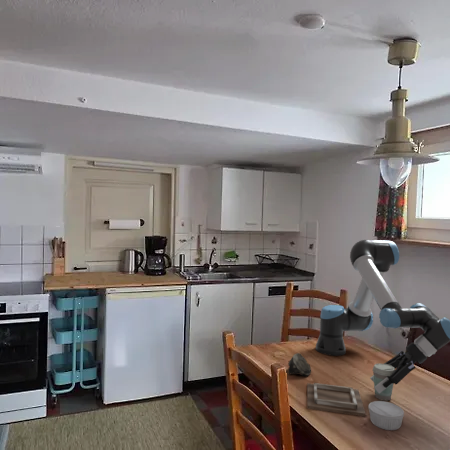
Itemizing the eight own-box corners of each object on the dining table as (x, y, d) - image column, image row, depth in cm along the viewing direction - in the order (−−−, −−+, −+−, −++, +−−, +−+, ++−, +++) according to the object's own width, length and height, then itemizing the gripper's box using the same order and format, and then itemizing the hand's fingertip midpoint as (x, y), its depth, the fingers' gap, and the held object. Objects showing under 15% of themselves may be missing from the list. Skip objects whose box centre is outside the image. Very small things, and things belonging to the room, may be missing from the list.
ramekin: (364, 425, 133) (364, 409, 133) (372, 412, 142) (372, 397, 142) (399, 436, 127) (400, 420, 127) (405, 422, 136) (406, 407, 136)
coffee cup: (372, 400, 151) (374, 369, 151) (369, 391, 160) (371, 361, 159) (396, 403, 149) (398, 372, 149) (392, 394, 158) (394, 364, 157)
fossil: (311, 378, 168) (301, 356, 169) (292, 385, 171) (282, 364, 171) (312, 368, 179) (302, 348, 180) (293, 375, 181) (284, 355, 182)
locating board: (307, 385, 162) (307, 379, 162) (358, 392, 158) (358, 385, 158) (307, 408, 143) (307, 401, 143) (365, 416, 139) (365, 409, 139)
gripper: (436, 367, 141) (386, 405, 144) (419, 348, 161) (376, 382, 165) (421, 351, 141) (372, 389, 145) (406, 334, 162) (363, 368, 166)
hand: (374, 385), depth 155 cm, fingers closed on coffee cup, 8 cm apart
